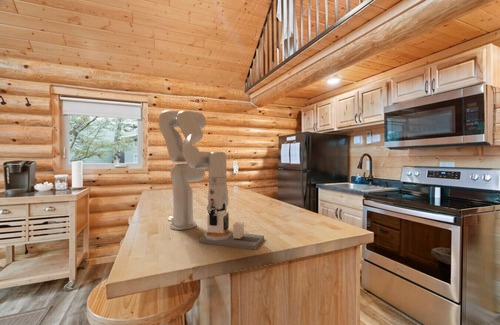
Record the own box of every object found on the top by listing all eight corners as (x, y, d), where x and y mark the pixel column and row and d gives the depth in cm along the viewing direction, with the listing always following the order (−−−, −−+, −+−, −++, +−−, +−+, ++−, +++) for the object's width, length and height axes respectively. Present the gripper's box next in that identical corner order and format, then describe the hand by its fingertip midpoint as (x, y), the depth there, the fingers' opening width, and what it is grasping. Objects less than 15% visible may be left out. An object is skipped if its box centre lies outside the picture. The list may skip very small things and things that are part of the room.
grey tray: (199, 242, 96) (199, 235, 96) (213, 233, 108) (213, 227, 108) (254, 249, 88) (254, 242, 88) (264, 239, 99) (264, 232, 99)
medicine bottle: (223, 233, 96) (223, 204, 96) (207, 232, 97) (206, 203, 97) (229, 228, 103) (228, 200, 103) (213, 227, 104) (213, 200, 104)
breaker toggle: (233, 237, 95) (233, 224, 95) (237, 234, 99) (237, 221, 99) (240, 238, 94) (239, 225, 94) (243, 235, 98) (243, 222, 98)
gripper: (215, 183, 90) (216, 229, 91) (234, 179, 106) (234, 218, 107) (198, 183, 93) (199, 227, 93) (219, 179, 109) (219, 217, 109)
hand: (218, 222), depth 100 cm, fingers closed on medicine bottle, 7 cm apart
